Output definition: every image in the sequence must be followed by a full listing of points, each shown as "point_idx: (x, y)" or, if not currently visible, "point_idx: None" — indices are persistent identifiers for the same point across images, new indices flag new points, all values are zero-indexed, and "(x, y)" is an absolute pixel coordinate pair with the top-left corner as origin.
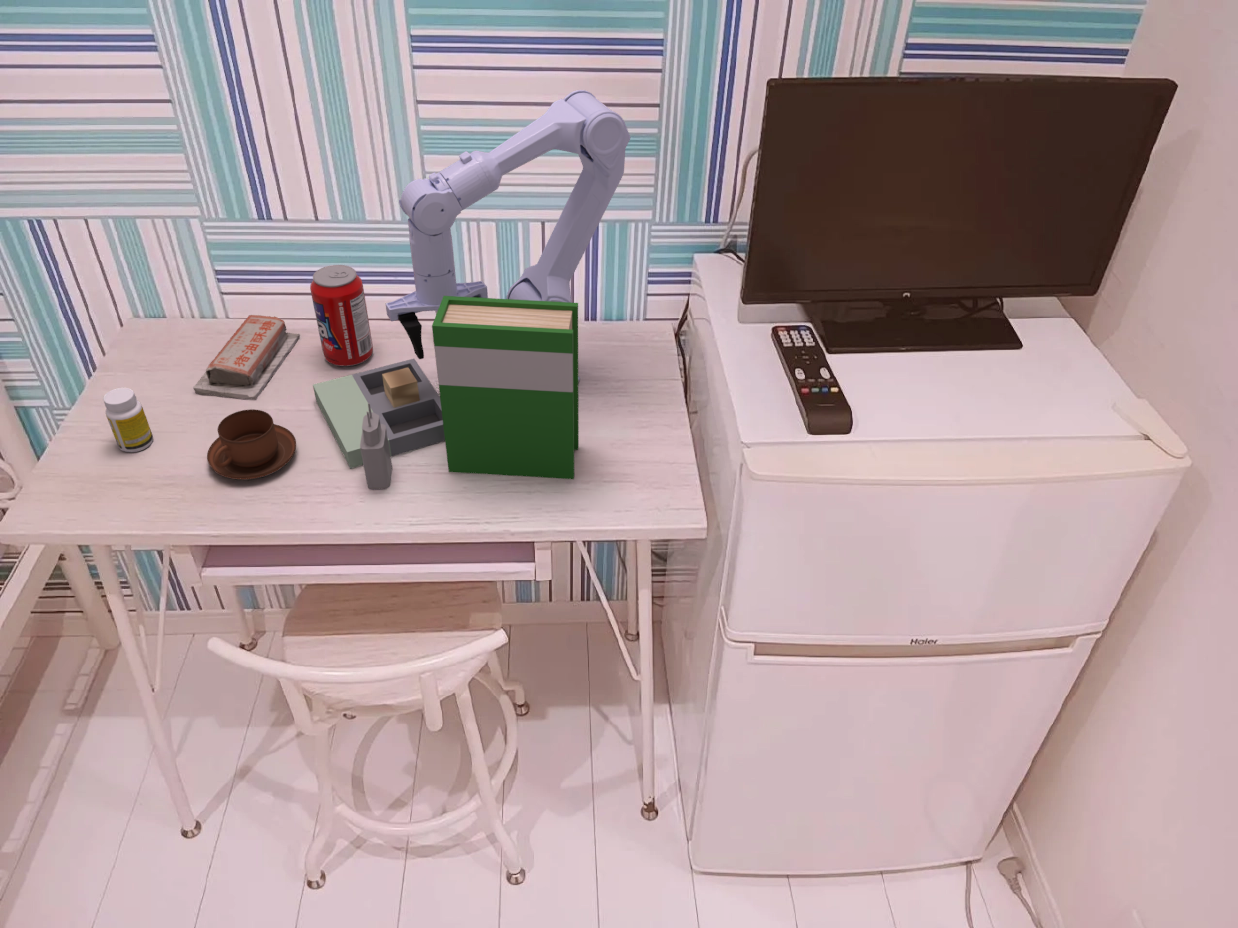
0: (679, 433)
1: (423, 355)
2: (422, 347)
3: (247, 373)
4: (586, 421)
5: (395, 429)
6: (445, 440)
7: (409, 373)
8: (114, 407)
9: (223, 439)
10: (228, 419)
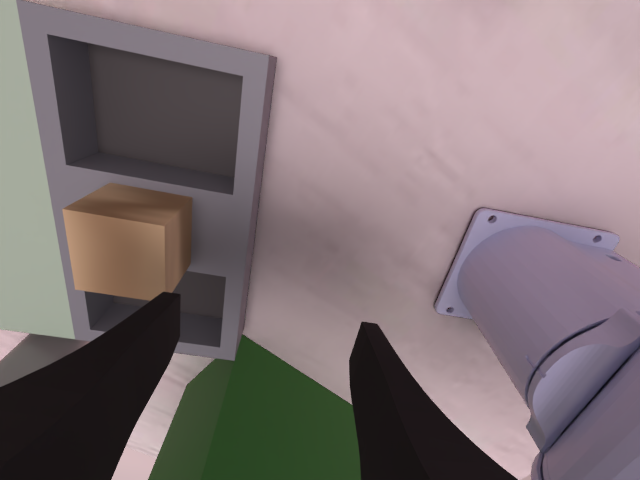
0: (526, 475)
1: (172, 351)
2: (151, 392)
3: None
4: (455, 404)
5: None
6: (158, 455)
7: (157, 257)
8: None
9: None
10: None
